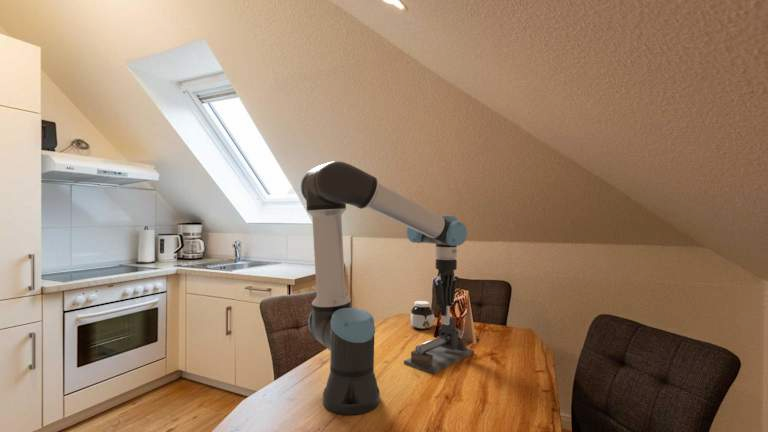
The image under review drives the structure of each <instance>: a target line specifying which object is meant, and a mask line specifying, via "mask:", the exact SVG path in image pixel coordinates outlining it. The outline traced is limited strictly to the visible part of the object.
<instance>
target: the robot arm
mask: <svg viewBox="0 0 768 432" xmlns="http://www.w3.org/2000/svg"><path fill="white" fill-rule="evenodd" d="M300 191H301V194H302V196H303V198H304V199H305V201H306V203H305V204H306V212H307V213H308V214H309V215H310V216H311V218H312V235H313V251H314V255H313V256H314V269H315V270H314V271H315V288H316V289H315V291H316V297H315V298H314V299H313V300H312V301H311V312H310V313H309V315H308V319H307V320H308V329H309V331H310V334H311V335H312V337H313V338H314V339H315V340H316V341H317V342H319V344H322V345H323V346H324V347H325V348H327V350H329V352H330V357H329V359H330V360H329V361H330V367H329V368H330V371H329V374H328V378H327V381H326V385H325V388H324V390H323V391H322V403H323V406H324V407H325V408H326V410H328V411H330V412H332V413H335V414H339V415H346V416H352V415H353V416H355V415H356V416H357V415H362V414H365V413H368V412H371V411H372V410H374V409H375V408H377V407H378V405H379V404H380V399H381V397H380V396H381V393H380V388H379V387H378V382H377V379H376V374H375V369H374V367H375V366H374V365H375V364H374V363H375V334H376V326H375V318H374V316H373V315H372V314H371V312H368V311H366V310H365V309H360V308H357V307H352V299H351V297H349V296H348V295H347V294H346V284H345V283H346V282H345V279H346V278H345V263H344V262H345V261H344V259H345V258H344V243H343V239H344V238H343V223H342V215H343V213H345V212H346V210H347V205H350V206H353V207H356V208H358V209H360V210H363V209H366V208H367V209H368V210H371V211H374V212H375V213H377V214H380V215H382V216H384V217H386V218H387V219H390V220H392V221H394V222H396V223H399V224H400V225H403V226H405V227H406V236H407V238H408V241H410V242H411V243H415V244H421V243H424V244H434V245H435V258H436V259H435V269H436V270H438V272H437V277H436V278H434V279H433V280H432V282H433V285H434V289H435V291H434V292H435V298H436V305H438V306H440V325H442V324H444V325H449V324H450V316H451V311H450V310H451V307H453V306H454V302H455V296H456V288H457V287H456V286H457V282H458V280H459V277H458V276H456V275H455V270H457V269H458V268H457V266H458V265H457V263H458V262H457V261H458V260H457V259H456V258H457V257H458V255H457V254H458V249H457V248H458V247H459V246H462V245H463V244H464V243H465V242H466V240H467V237H468V229H467V227H466V225H465V224H464V223H463V222H461V221H458V219H457V216H454V215H439V214H438V213H436V212H434V211H432V210H430V209H428V208H426V207H425V206H422V205H420V204H419V203H417V202H415V201H412V200H411V199H409V198H407V197H406V196H403V195H402V194H399V193H398V192H396V191H394V190H392V189H390V188H388V187H387V186H384V185H382V184H381V183H379V181H378V179H377V177H375V176H373V175H372V174H370V173H368V172H365V171H364V170H362V169H360V168H358V167H356V166H354V165H352V164H350V163H347V162H343V161H340V160H333V161H329V162H327V163H323V164H321V165H320V164H319V165H315V166H313V167H311V168H310V169H309V170H308V171H307V172H306V173H305V174H304V175H303V177H302V179H301V183H300ZM457 246H458V247H457Z"/></svg>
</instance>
